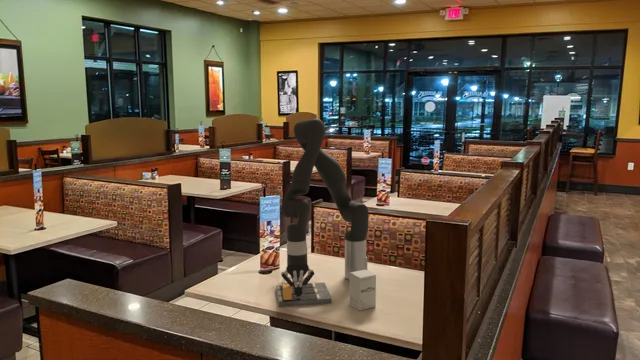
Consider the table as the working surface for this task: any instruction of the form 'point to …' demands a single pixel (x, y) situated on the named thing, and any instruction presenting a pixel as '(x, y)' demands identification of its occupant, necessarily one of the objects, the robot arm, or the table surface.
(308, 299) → the panel
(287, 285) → the block
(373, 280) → the supplement box
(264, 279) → the table surface
